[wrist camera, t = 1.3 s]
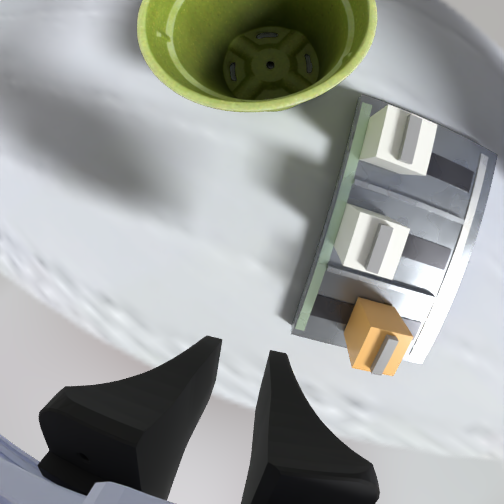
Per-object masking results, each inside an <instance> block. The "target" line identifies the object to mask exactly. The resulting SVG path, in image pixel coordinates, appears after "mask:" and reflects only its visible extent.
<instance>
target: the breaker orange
mask: <svg viewBox="0 0 504 504" xmlns="http://www.w3.org/2000/svg"><path fill="white" fill-rule="evenodd" d="M344 337H345V341H346V345H347V349H348V353H349V357H350V362H351V366H352V368H355V369H360V370H365V371H370V372H371V374H376V375H382V374H385V375H390V376H394V374H395V372H396V370H397V368H398V366H399V364H400V363H401V361H402V359H403V357H404V355H405V353H406V351H407V349H408V347H409V345H410V343H411V341H412V339H413V335H412V334H411V332H410V330H409V329H408V327H407V326H406V324H405V323H404V321H403V319H402V318H401V316H400V315H399V313H398V312H397V310H396V308H395V307H393V306H390V305H386V304H382V303H379V302H375V301H371V300H368V299H364V298H360V297H358V299H357V301H356V304H355V306H354V309H353V311H352V314H351V316H350V319H349V321H348V323H347V326H346V328H345V331H344Z"/></svg>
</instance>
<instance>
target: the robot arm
mask: <svg viewBox="0 0 504 504" xmlns="http://www.w3.org/2000/svg"><path fill="white" fill-rule="evenodd" d="M221 345H222V339H219V338H215V337H211V336H206V337H204V338H202V339H201V340H200V341H198V342H197V343H196V344H194V345H193V346H192V347H190V348H189V349H187V350H186V351H184V352H183V353H181V354H180V355H178V356H176V357H175V358H173V359H171V360H169V361H168V362H166V363H164V364H162V365H160V366H158V367H156V368H154V369H152V370H150V371H147V372H145V373H142V374H140V375H136V376H133V377H130V378H126V379H123V380H119V381H114V382H110V383H104V384H97V385H87V386H71V387H70V386H66V387H64V388H63V389H62V390H61V391H59V392H58V393H57V394H56V395H55V396H54V397H53V398H52V399H51V400H50V402H49V403H48V404H47V405H46V406H45V407H44V408H43V409H42V410H41V411H40V412H39V422H40V427H41V430H42V432H43V435H44V438H45V440H46V443H47V445H48V448H49V452H48V453H47V454H46V455H45V457H44V458H43V459H42V460H41V462H39V461H38V460H36V459H35V458H33V457H31V456H30V455H28V454H27V453H25V452H24V451H23V450H21V449H20V448H18V447H17V446H15V445H14V444H13V443H11V442H10V441H8V440H7V439H6V438H4V437H3V436H1V435H0V504H175V503H172V502H169V501H167V498H168V495H169V493H170V489H171V487H172V484H173V481H174V478H175V475H176V473H177V470H178V467H179V464H180V461H181V459H182V456H183V453H184V451H185V448H186V446H187V443H188V441H189V439H190V437H191V435H192V433H193V431H194V429H195V427H196V425H197V423H198V421H199V419H200V417H201V415H202V413H203V411H204V409H205V407H206V405H207V403H208V401H209V399H210V396H211V393H212V390H213V387H214V384H215V381H216V376H217V369H218V363H219V357H220V351H221ZM379 494H380V491H379V485H378V480H377V476H376V473H375V470H374V467H373V464H372V463H370V462H369V461H367V460H366V459H364V458H363V457H361V456H360V455H358V454H357V453H355V452H354V451H353V450H351V449H350V448H349V447H348V446H346V445H345V444H344V443H343V442H342V441H340V440H339V439H338V438H337V437H336V436H335V435H334V434H333V433H332V432H331V431H330V430H329V429H328V428H327V427H326V426H325V424H324V423H323V422H322V421H321V420H320V419H319V417H318V416H317V415H316V413H315V412H314V410H313V409H312V407H311V406H310V404H309V403H308V401H307V399H306V398H305V396H304V394H303V392H302V390H301V388H300V386H299V384H298V382H297V380H296V378H295V376H294V373H293V371H292V368H291V365H290V362H289V359H288V356H287V354H286V353H282V352H277V351H272V350H270V352H269V356H268V360H267V364H266V368H265V372H264V376H263V380H262V384H261V388H260V392H259V396H258V401H257V406H256V410H255V421H254V431H253V442H252V453H251V460H250V466H249V471H248V476H247V480H246V484H245V488H244V493H243V497H242V502H241V504H375V503H376V502H377V500H378V499H379Z"/></svg>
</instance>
